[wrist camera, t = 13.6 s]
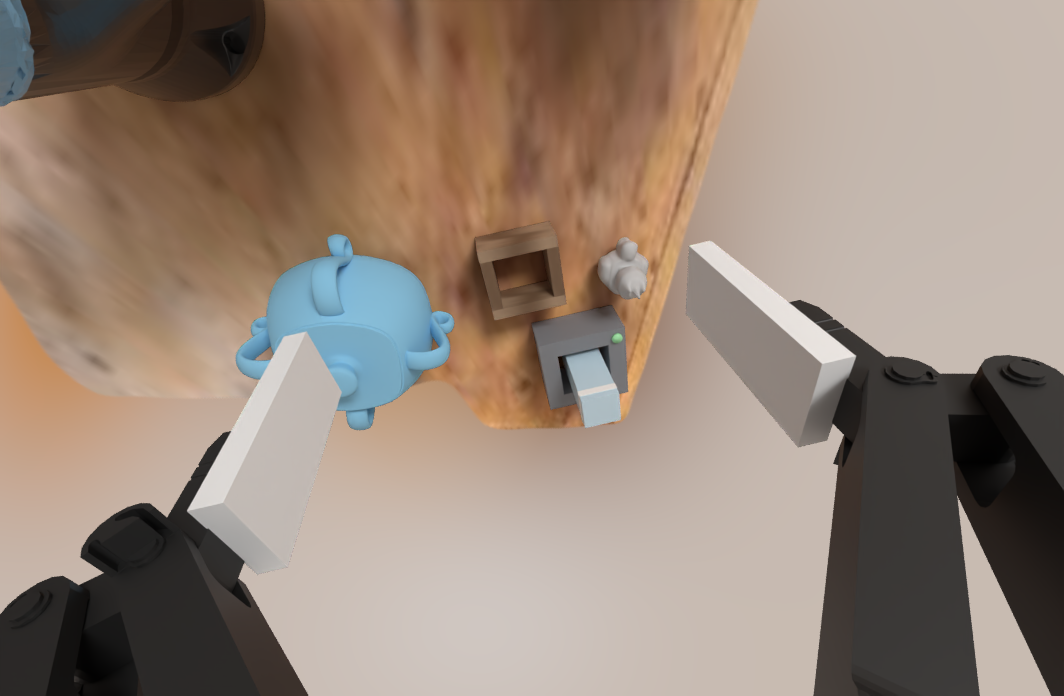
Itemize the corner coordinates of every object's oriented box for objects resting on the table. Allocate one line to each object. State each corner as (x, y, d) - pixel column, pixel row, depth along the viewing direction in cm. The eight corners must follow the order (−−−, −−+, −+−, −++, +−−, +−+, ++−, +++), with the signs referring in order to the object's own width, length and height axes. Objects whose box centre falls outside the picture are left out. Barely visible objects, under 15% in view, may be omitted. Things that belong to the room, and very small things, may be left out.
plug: (558, 337, 55) (580, 401, 45) (590, 329, 55) (619, 392, 46) (562, 362, 58) (584, 428, 48) (592, 355, 58) (621, 420, 48)
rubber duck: (590, 285, 52) (610, 321, 45) (596, 230, 48) (619, 261, 41) (635, 283, 52) (661, 318, 46) (644, 229, 48) (673, 258, 42)
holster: (491, 302, 51) (494, 320, 48) (475, 237, 46) (476, 252, 43) (559, 287, 51) (566, 304, 48) (549, 221, 46) (556, 235, 43)
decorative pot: (366, 386, 55) (346, 473, 44) (247, 300, 46) (185, 383, 36) (466, 313, 51) (471, 389, 40) (357, 204, 43) (325, 264, 32)
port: (544, 384, 59) (551, 411, 55) (531, 323, 53) (538, 348, 49) (616, 367, 59) (628, 393, 55) (611, 305, 54) (625, 328, 49)
